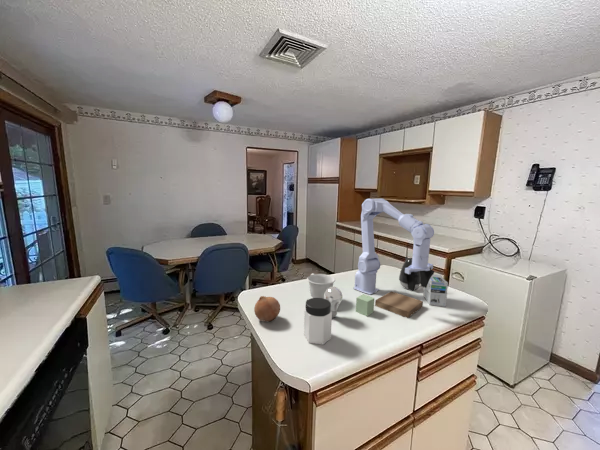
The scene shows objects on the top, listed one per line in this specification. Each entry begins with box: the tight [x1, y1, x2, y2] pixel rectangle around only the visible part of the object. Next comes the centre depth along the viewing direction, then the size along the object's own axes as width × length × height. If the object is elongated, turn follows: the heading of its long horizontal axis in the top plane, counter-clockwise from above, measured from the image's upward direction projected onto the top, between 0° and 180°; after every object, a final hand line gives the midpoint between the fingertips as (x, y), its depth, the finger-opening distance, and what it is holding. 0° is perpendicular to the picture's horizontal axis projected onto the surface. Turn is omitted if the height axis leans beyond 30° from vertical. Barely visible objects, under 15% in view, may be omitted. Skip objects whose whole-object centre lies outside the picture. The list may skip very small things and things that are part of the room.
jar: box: [303, 297, 333, 345], centre depth 85 cm, size 9×8×12 cm
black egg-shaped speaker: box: [398, 256, 421, 290], centre depth 129 cm, size 10×10×15 cm
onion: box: [253, 295, 281, 323], centre depth 96 cm, size 10×9×10 cm
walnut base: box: [374, 290, 424, 319], centre depth 109 cm, size 14×14×2 cm
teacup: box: [306, 273, 336, 299], centre depth 114 cm, size 12×15×10 cm
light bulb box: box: [423, 273, 449, 308], centre depth 115 cm, size 11×7×11 cm, turn 168°
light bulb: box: [324, 286, 343, 319], centre depth 98 cm, size 7×7×12 cm
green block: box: [355, 293, 375, 317], centre depth 104 cm, size 5×5×6 cm
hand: (417, 288), depth 104 cm, fingers open, 7 cm apart
